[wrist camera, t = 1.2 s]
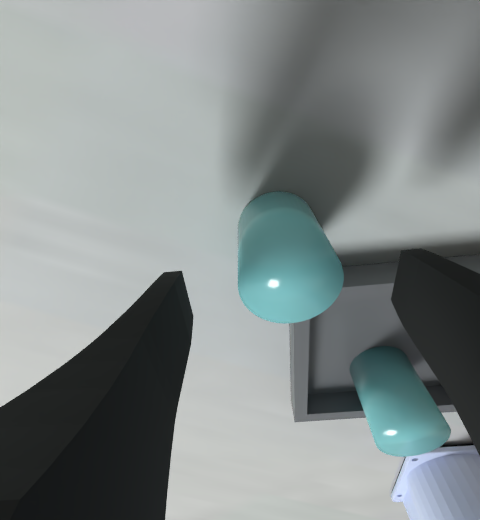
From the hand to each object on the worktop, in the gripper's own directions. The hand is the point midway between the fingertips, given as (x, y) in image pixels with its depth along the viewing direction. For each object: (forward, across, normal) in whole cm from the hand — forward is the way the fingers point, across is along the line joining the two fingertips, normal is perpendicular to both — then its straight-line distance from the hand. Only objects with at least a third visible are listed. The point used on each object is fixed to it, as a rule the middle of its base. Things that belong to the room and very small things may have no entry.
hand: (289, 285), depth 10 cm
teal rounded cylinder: (+4, -6, +10) cm, 13 cm away
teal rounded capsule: (+4, 0, 0) cm, 5 cm away
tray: (+5, -6, +8) cm, 11 cm away
